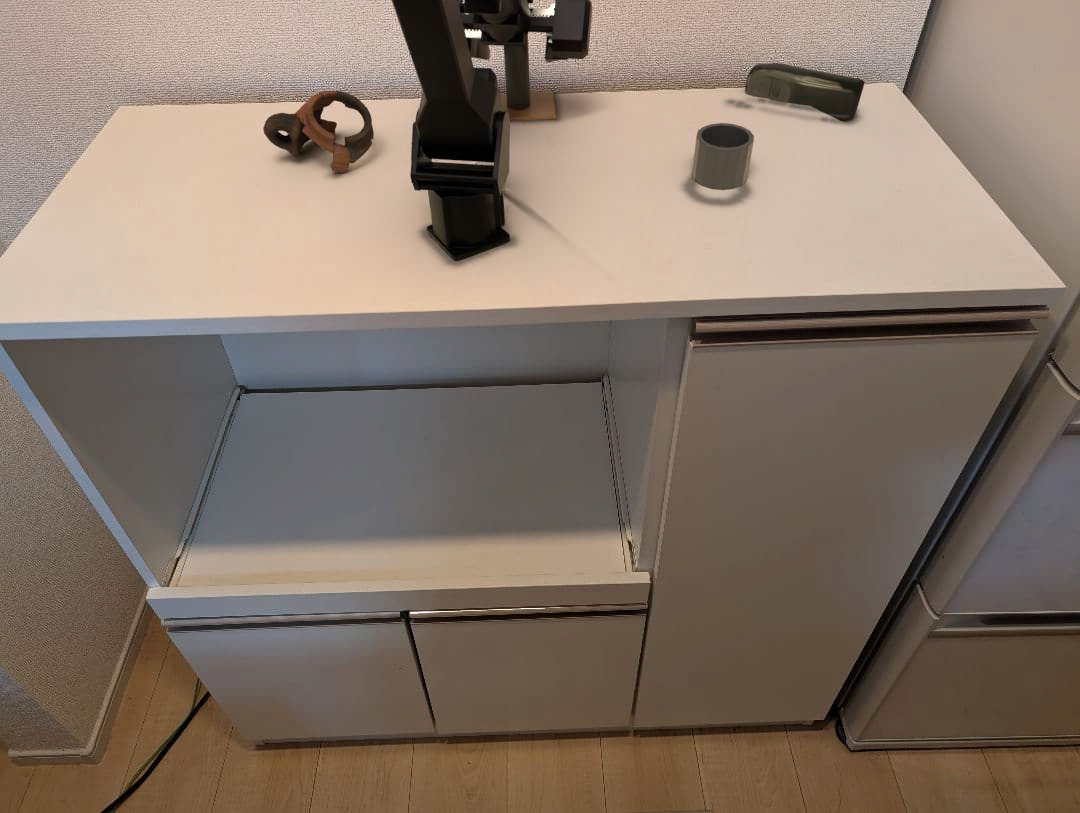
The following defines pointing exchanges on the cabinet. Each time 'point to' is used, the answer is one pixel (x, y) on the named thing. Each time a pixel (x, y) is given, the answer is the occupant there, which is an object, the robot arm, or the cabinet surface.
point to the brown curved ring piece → (321, 129)
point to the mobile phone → (806, 88)
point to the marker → (517, 76)
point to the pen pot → (722, 156)
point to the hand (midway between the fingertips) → (518, 56)
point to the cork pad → (533, 107)
